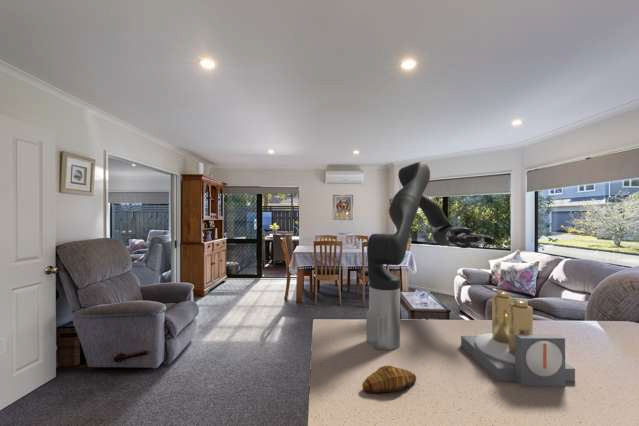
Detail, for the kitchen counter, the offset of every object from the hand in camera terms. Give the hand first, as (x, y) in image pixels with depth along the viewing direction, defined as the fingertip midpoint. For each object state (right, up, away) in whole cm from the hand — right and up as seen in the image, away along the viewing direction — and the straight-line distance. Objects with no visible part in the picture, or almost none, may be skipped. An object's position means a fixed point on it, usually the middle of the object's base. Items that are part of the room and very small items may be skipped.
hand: (478, 241), depth 93 cm
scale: (-1, -31, -18) cm, 35 cm away
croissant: (-36, -31, -28) cm, 55 cm away
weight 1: (0, -27, -12) cm, 29 cm away
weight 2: (-1, -27, -21) cm, 34 cm away
